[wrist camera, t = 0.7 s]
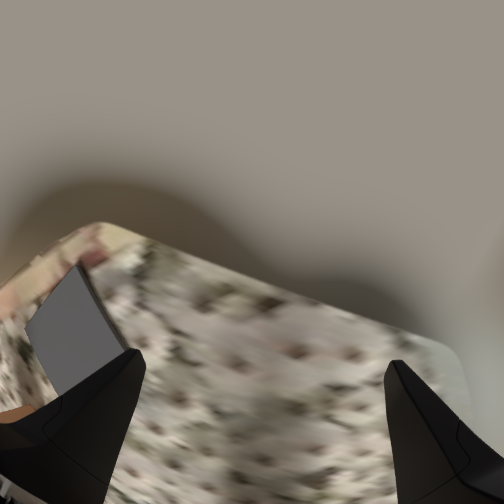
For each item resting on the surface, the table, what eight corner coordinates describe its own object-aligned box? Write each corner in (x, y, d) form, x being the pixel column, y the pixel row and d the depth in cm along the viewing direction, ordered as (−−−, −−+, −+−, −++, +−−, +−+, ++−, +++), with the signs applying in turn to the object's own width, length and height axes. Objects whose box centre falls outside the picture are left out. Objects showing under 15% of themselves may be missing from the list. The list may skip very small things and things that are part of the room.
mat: (141, 369, 24) (137, 371, 23) (77, 417, 24) (73, 419, 23) (79, 265, 27) (75, 264, 26) (28, 328, 26) (24, 328, 26)
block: (51, 425, 24) (-17, 452, 11) (50, 448, 23) (-10, 476, 11) (29, 404, 25) (-38, 422, 12) (29, 427, 24) (-32, 448, 11)
